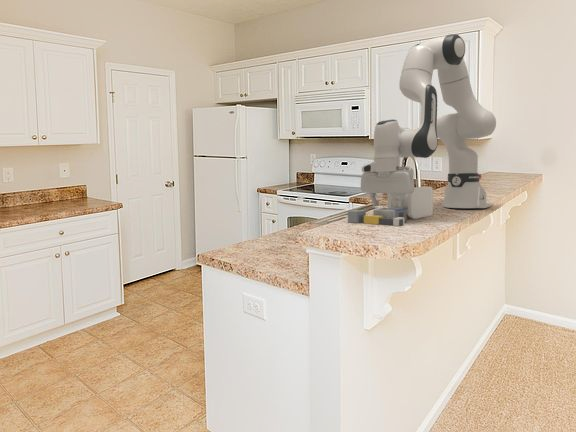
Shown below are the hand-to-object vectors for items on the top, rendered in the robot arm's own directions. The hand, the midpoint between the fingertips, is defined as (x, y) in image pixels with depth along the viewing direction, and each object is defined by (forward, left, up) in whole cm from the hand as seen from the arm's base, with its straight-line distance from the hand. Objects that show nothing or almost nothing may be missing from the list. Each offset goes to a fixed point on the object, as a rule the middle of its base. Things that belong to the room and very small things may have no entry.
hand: (386, 206), depth 163 cm
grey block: (+8, -7, -5) cm, 12 cm away
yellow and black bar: (+8, +3, -5) cm, 10 cm away
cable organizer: (-15, 0, -6) cm, 16 cm away
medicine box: (0, +6, -3) cm, 7 cm away
